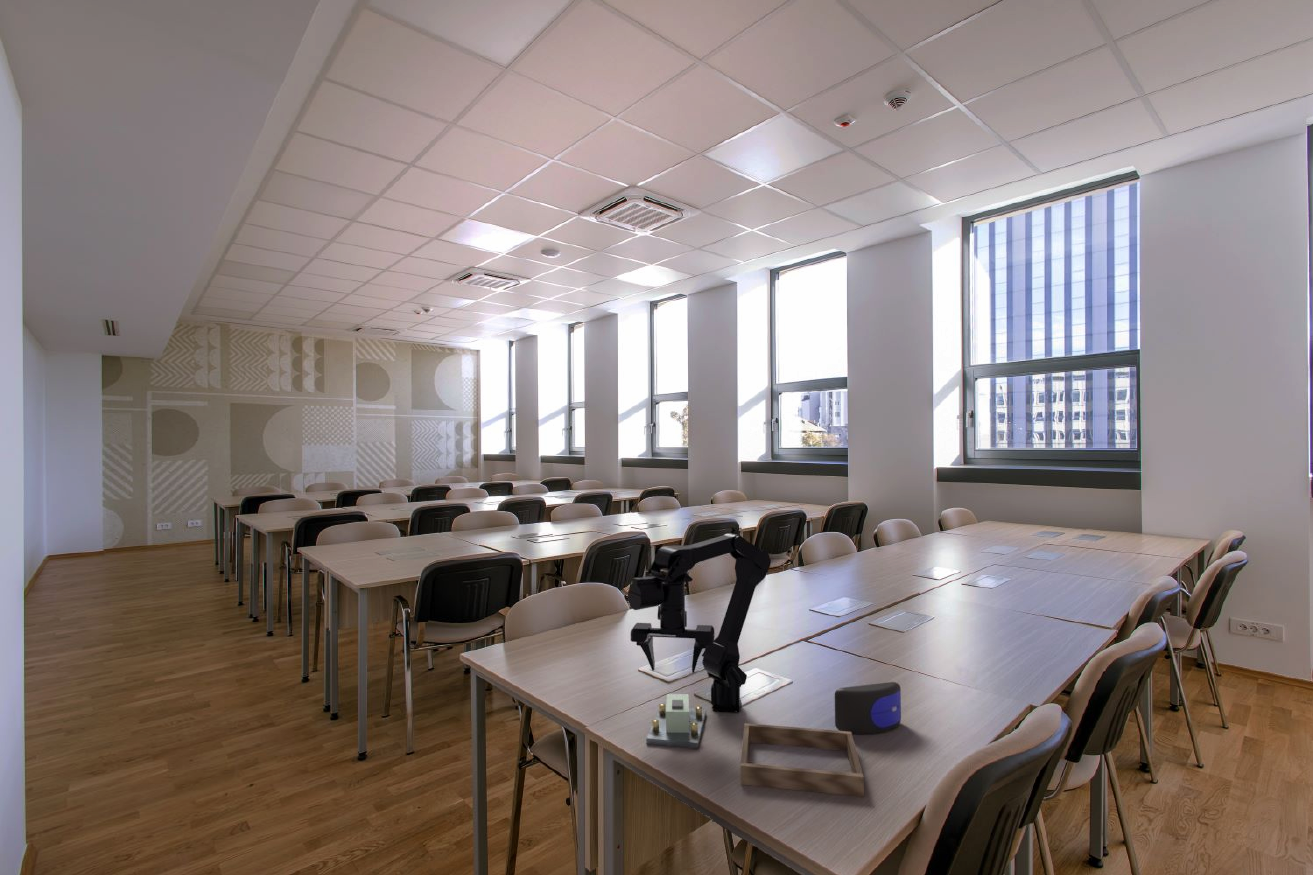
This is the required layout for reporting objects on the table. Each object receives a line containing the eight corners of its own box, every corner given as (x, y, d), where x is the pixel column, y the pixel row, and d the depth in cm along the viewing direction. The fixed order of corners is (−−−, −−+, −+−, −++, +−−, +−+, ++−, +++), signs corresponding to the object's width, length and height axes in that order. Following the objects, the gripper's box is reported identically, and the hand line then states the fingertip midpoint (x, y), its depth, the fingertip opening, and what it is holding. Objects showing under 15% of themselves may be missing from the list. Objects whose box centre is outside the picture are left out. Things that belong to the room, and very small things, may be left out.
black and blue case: (844, 739, 127) (843, 695, 127) (833, 729, 131) (832, 686, 131) (910, 730, 130) (909, 687, 130) (897, 720, 135) (897, 679, 135)
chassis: (706, 714, 139) (706, 700, 139) (697, 748, 123) (697, 733, 123) (660, 710, 141) (660, 697, 141) (646, 743, 125) (646, 728, 125)
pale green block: (688, 713, 137) (688, 691, 137) (689, 732, 128) (688, 708, 128) (667, 713, 137) (667, 691, 137) (666, 732, 128) (665, 708, 128)
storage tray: (851, 748, 123) (851, 731, 123) (863, 796, 106) (863, 776, 106) (744, 739, 127) (744, 723, 127) (740, 784, 110) (740, 765, 110)
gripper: (715, 594, 141) (716, 660, 141) (639, 592, 144) (640, 656, 144) (712, 607, 130) (713, 678, 130) (629, 605, 133) (630, 674, 133)
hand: (673, 671), depth 134 cm, fingers open, 9 cm apart
